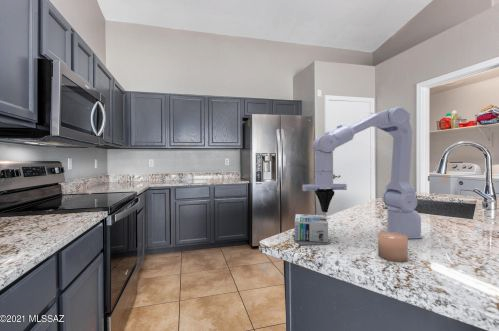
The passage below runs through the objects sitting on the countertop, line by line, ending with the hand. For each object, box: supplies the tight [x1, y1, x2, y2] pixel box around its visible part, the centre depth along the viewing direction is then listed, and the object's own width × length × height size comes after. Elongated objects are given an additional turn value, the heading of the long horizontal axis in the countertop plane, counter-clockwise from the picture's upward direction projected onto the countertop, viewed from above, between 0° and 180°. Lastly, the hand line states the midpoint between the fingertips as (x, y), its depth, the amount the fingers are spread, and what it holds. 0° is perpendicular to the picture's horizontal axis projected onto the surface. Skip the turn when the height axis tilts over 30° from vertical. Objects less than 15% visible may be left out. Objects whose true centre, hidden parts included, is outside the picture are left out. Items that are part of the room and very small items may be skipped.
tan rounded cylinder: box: [377, 231, 409, 263], centre depth 67 cm, size 7×7×6 cm
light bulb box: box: [293, 213, 329, 242], centre depth 84 cm, size 11×7×11 cm
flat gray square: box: [291, 234, 331, 247], centre depth 81 cm, size 10×10×1 cm
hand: (324, 211), depth 82 cm, fingers closed
